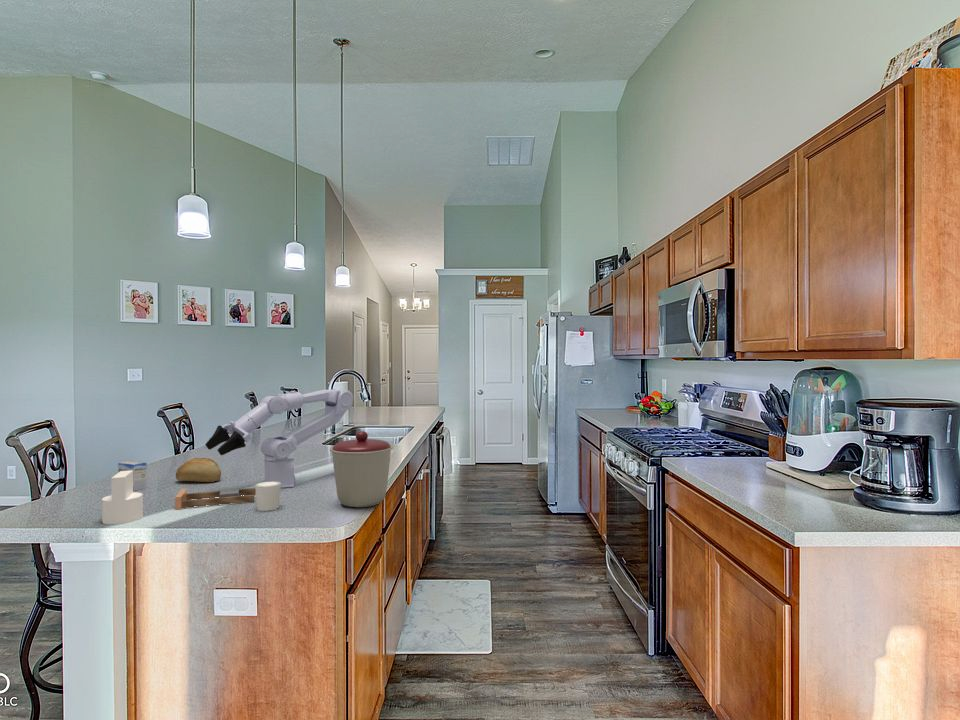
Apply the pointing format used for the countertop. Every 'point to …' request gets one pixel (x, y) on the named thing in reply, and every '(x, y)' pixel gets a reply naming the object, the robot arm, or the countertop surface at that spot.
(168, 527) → the countertop surface
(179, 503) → the rail lane
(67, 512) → the countertop surface
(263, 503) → the white cylinder
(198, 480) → the bread roll
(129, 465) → the medicine box
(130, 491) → the base with upright slab
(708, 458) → the countertop surface
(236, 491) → the block
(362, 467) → the canister
